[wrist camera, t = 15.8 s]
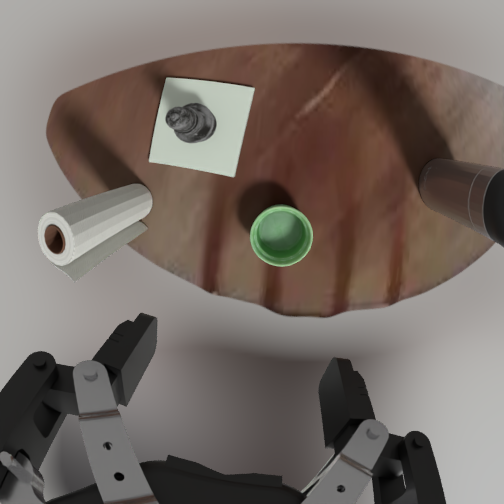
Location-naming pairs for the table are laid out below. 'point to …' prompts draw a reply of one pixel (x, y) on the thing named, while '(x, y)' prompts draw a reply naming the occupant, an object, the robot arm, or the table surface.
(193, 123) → the salt shaker
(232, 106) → the sage tile
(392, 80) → the table surface
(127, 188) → the paper towel roll
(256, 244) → the ramekin
